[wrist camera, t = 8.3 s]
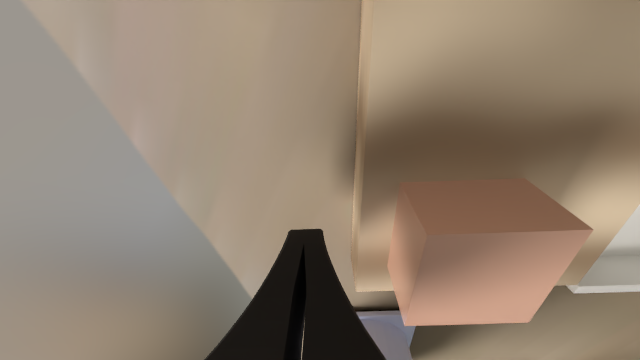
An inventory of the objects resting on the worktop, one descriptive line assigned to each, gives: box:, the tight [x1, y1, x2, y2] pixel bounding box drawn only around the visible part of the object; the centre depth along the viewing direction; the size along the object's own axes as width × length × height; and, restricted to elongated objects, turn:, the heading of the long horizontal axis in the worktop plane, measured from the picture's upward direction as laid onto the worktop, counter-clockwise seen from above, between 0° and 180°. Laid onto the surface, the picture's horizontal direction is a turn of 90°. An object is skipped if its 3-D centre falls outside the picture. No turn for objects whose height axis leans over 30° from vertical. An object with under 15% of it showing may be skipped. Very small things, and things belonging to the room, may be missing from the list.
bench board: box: [351, 0, 640, 292], centre depth 11 cm, size 16×12×2 cm
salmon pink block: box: [387, 178, 594, 326], centre depth 10 cm, size 5×5×3 cm
